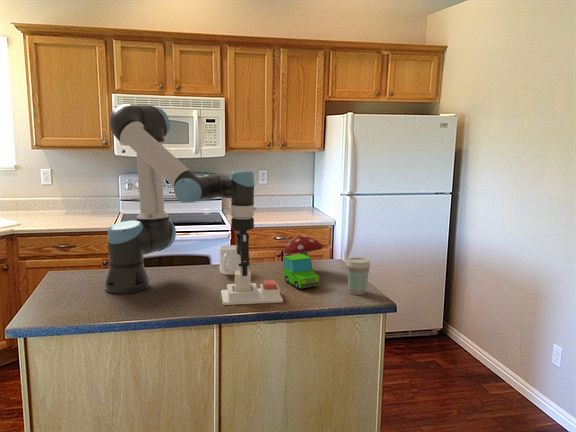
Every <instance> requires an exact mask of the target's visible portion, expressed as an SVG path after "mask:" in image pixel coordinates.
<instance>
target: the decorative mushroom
mask: <svg viewBox="0 0 576 432" xmlns="http://www.w3.org/2000/svg"><path fill="white" fill-rule="evenodd" d="M323 247H324V245H322V243H320V242H319V241H318V240H317V239H314V238H312V237H309V236H307V235H301V234H300V235H298V236H297V237H295V238H293V239H292V240H291V241H289V242H288V243H287V244H286V245H285V247H284V248H283V253H284V254H288V255H289V254H291V255H294V254H304V255H306V256H308V257H310V256H309V254H308V253H309V252H314V251H321V250H322V249H323Z"/></svg>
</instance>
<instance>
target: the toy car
mask: <svg viewBox="0 0 576 432" xmlns="http://www.w3.org/2000/svg"><path fill="white" fill-rule="evenodd" d="M308 256H309V255H308ZM308 256H306V255H304V254H300V253H298V254H291V255H285V256H283V280H285V284H292V285H294V288H295V289H296V290H300V289H305V288H316V287H318V286H320V276H319V275H318V274H317V273H316V272H315V268H314V269H313V264H312V258H311V257H310V256H309V257H308Z"/></svg>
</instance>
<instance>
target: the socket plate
mask: <svg viewBox="0 0 576 432" xmlns="http://www.w3.org/2000/svg"><path fill="white" fill-rule="evenodd" d="M259 287H260V288H258V286H257V284H256V283H255V282H254V283H252V282H251V291H244V292H235V283H227V284H226V289H222V290H220V294H221V301H222V305H223V306H225V305H226V306H230V305H252V304H253V305H254V304H272V303H277V304H278V303H283V302H284V299H283V297H282V295H281V290H280V289H281V288H280V287H279V285H278V284H277V289H272V290H265V289H264V286H263V283H260V285H259Z"/></svg>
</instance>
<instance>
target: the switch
mask: <svg viewBox="0 0 576 432" xmlns="http://www.w3.org/2000/svg"><path fill="white" fill-rule="evenodd" d="M262 284H263V286H264V289H265V290H272V289H277V285H278V283H277V282H276V279H269V280H268V279H266V280H265V279H264V280H263V283H262Z"/></svg>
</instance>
